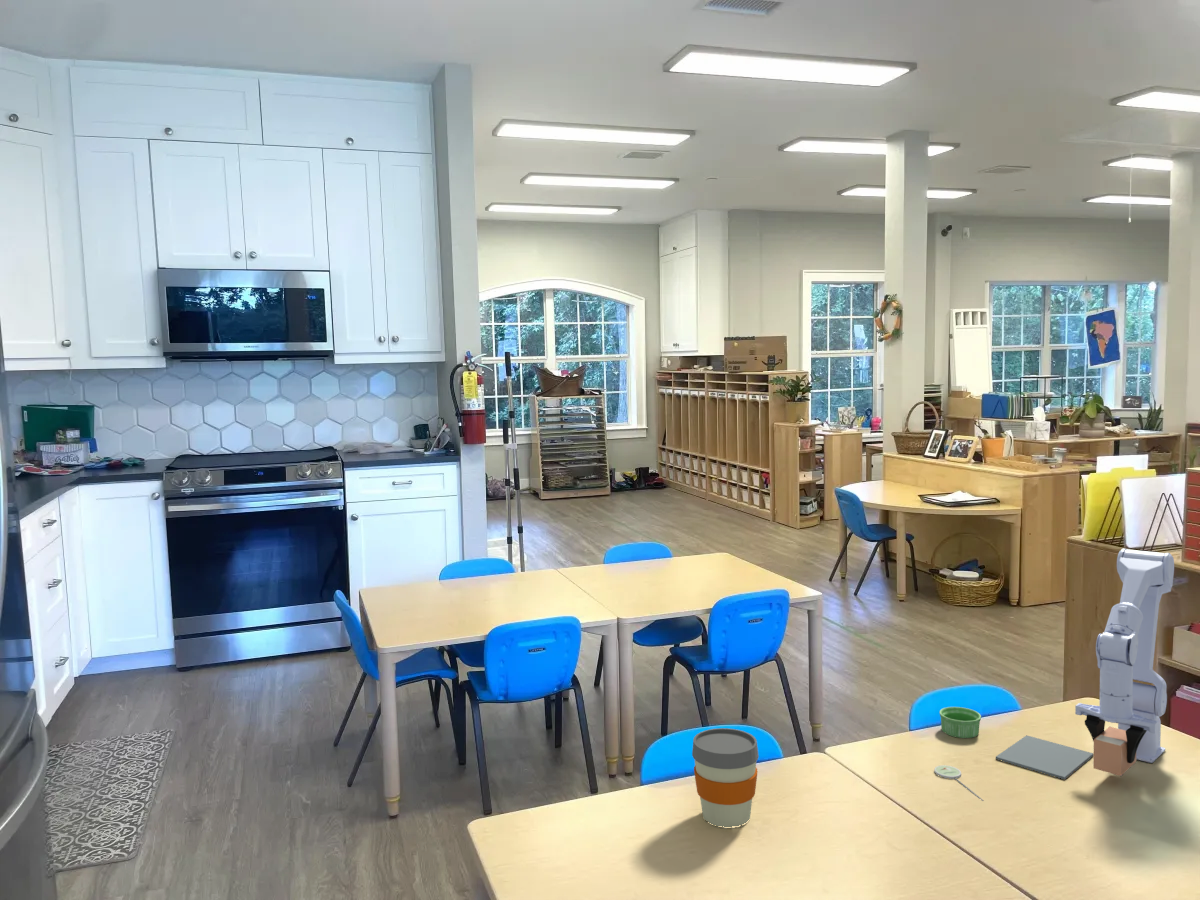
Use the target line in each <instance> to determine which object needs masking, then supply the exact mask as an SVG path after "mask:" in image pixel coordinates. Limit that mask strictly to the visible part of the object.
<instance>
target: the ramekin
mask: <svg viewBox="0 0 1200 900" xmlns="http://www.w3.org/2000/svg"><path fill="white" fill-rule="evenodd" d="M939 717H940V723H941V724H940V726H941V731H942V732H943V733H944V734H946V735H947V736H950V737H953V738H958V739H972V738H975V737H977V736H978V735H979V732H980V725H981V724H980V723H981V719H982V715H981V714H980V713H979V712H978V711H976V710H974V709H971V708H968V707H967V708H966V707H962V706H961V707H960V706H947V707H943V708H941V709H940V710H939Z"/></svg>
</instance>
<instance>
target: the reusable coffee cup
mask: <svg viewBox="0 0 1200 900" xmlns="http://www.w3.org/2000/svg"><path fill="white" fill-rule="evenodd" d="M692 741H693V742H692V751H691V754H692V758H693V759H694V766H693V772H694V780H695V787H696V793H697V795H698V796H699V797H700V798H699V799H700V805H701V812H702V818H703V817H704V818H703V820H704V819H705V820H706V821H708V822H709V823H711V824H713V825H716V826H722V827H723V826H724V827H732V826H739V825H742V824H744V823H746V822H747V821H748V820H749V819H750V820H751V813H752V812H751V811H752V806H753V805H752V804H753V798H755V795H756V788H757V779H758V768H757V761H758V760H759V757H760V756H759V747H758V741H757V739H756V737H755V736H754V735H753V734H751V733H749V732H746V731H744V730H740V729H737V728H736V729H735V728H727V727H726V728H723V727H721V728H719V727H718V728H710V729H707V730H703V731H700V732H699V733H697V734H696V735H695V736H694V737H693V740H692ZM705 820H704V821H705ZM750 820H749V821H750ZM706 821H705V822H706Z"/></svg>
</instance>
